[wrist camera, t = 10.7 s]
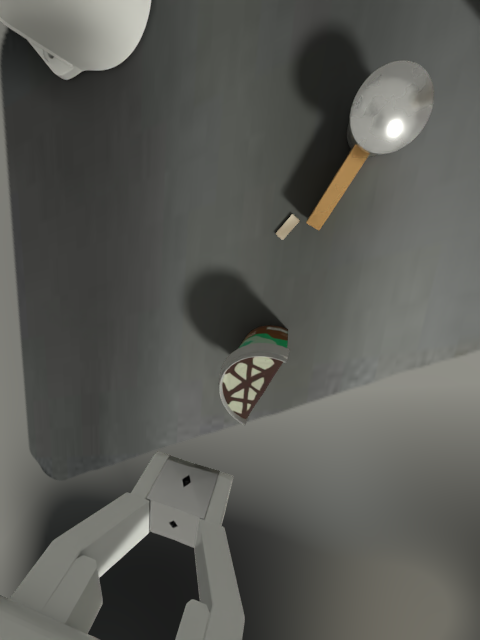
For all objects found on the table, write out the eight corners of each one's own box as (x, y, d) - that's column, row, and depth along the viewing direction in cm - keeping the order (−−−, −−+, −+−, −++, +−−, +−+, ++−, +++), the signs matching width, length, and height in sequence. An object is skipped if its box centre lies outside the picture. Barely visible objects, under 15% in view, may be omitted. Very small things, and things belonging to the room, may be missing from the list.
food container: (254, 301, 38) (238, 333, 29) (293, 321, 38) (288, 358, 29) (222, 364, 44) (201, 406, 35) (256, 381, 44) (243, 428, 35)
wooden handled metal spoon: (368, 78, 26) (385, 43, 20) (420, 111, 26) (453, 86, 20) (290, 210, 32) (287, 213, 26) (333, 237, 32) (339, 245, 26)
